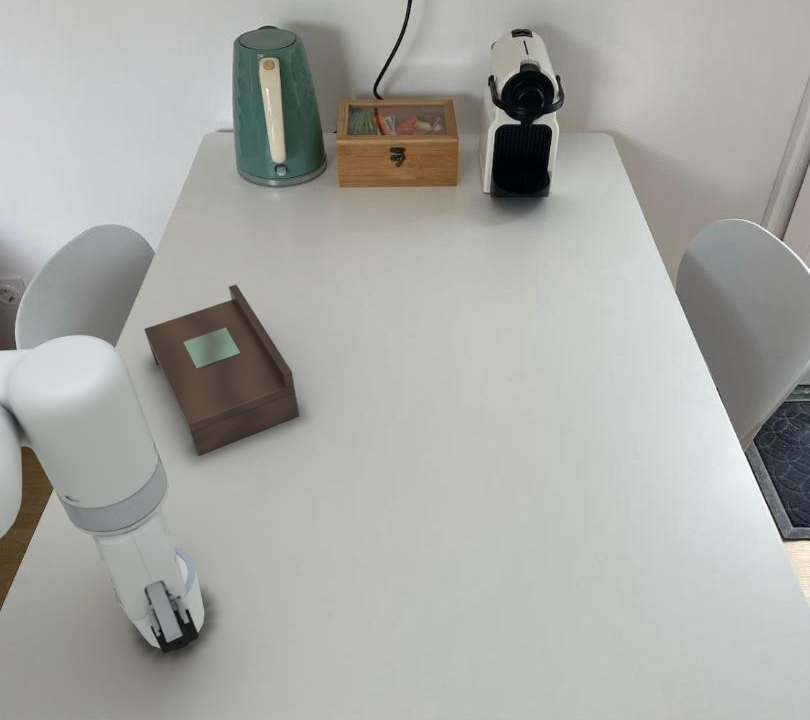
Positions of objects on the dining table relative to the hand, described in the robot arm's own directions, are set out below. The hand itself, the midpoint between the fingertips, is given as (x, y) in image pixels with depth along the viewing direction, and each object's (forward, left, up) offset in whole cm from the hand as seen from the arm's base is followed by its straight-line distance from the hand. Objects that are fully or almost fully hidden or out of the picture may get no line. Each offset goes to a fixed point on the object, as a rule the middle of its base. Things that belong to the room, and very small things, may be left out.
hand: (168, 608), depth 72 cm
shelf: (+14, +27, -2) cm, 30 cm away
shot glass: (0, 0, -2) cm, 2 cm away
